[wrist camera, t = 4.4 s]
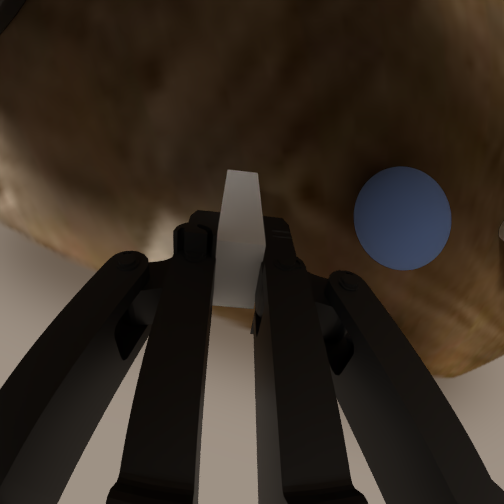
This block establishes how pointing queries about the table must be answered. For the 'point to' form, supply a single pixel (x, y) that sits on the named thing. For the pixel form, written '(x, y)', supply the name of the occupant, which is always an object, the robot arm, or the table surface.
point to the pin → (501, 231)
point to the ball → (402, 218)
